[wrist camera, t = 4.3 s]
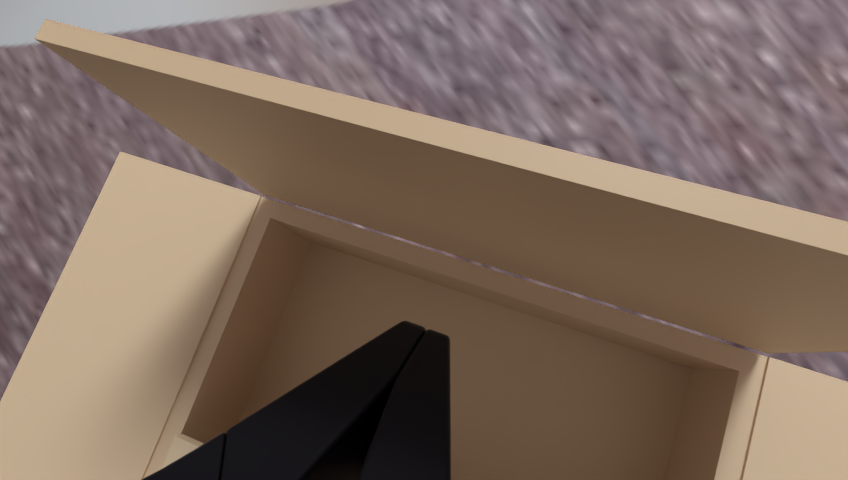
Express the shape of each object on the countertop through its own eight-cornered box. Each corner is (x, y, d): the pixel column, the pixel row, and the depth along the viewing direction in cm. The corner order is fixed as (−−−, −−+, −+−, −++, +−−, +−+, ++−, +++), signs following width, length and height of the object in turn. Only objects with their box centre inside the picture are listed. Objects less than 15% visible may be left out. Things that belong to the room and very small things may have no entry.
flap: (1182, 344, 5) (1187, 308, 5) (34, 38, 9) (45, 19, 9) (766, 352, 13) (770, 338, 13) (264, 194, 17) (268, 183, 17)
